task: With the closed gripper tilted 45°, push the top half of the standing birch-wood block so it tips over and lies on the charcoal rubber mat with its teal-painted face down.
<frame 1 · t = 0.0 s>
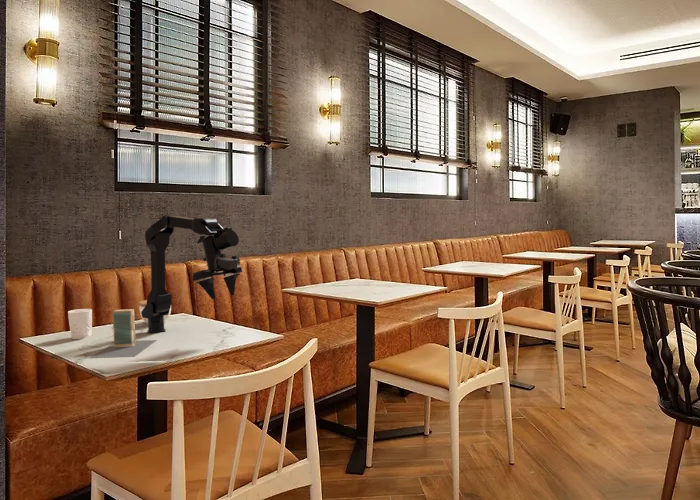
hand: (223, 297, 186), 15 cm above the table, tool pointing down, fingers open, 9 cm apart
rubber mat: (125, 350, 178), on the table
birch block: (125, 345, 182), point 1 cm above the table, touching rubber mat
lidded bowl: (156, 323, 223), on the table
white cup: (81, 338, 199), on the table
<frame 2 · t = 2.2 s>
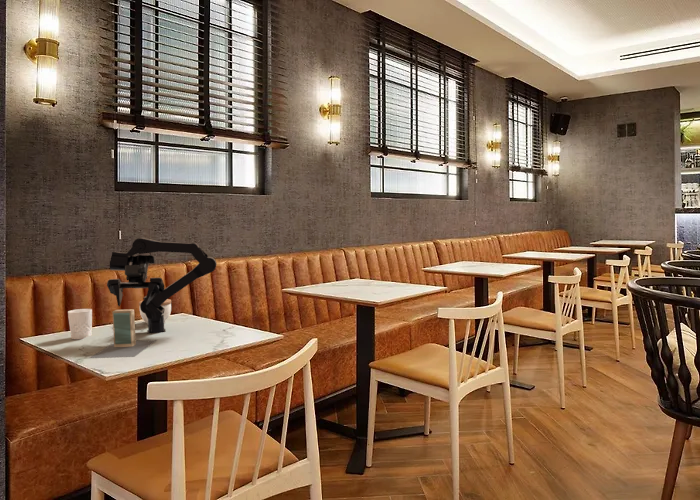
hand: (132, 305, 190), 13 cm above the table, tool tilted 45°, fingers open, 9 cm apart
nothing on the table moved.
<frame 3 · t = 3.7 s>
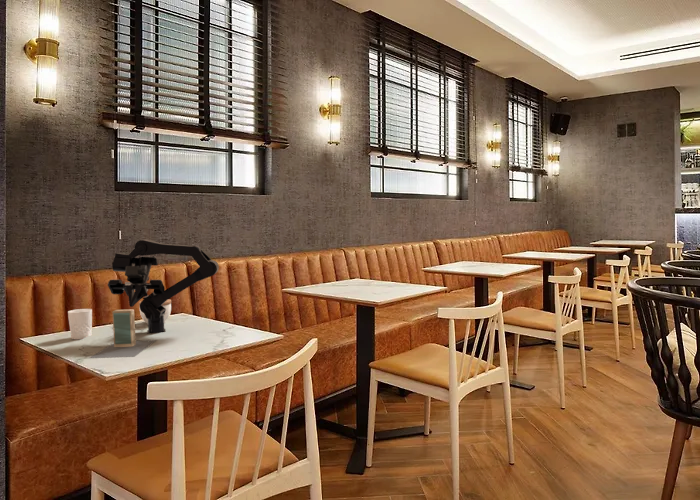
hand: (130, 306, 190), 13 cm above the table, tool tilted 45°, fingers closed
nothing on the table moved.
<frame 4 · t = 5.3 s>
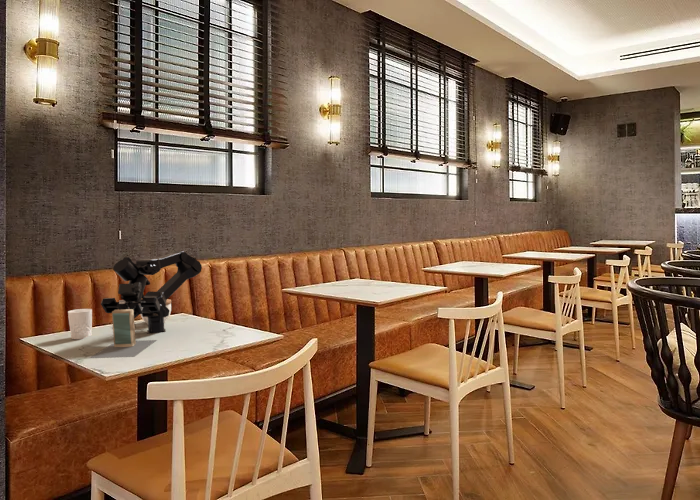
hand: (125, 325, 183), 7 cm above the table, tool tilted 45°, fingers closed, pressing on birch block
birch block: (125, 345, 182), point 1 cm above the table, touching gripper, rubber mat
everything else where it was.
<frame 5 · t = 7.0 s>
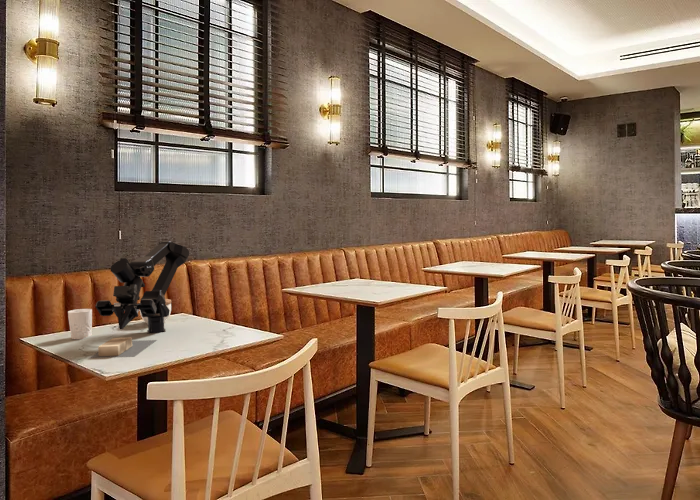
hand: (120, 328, 178), 7 cm above the table, tool tilted 45°, fingers closed
birch block: (123, 341, 180), point 2 cm above the table, tilted 90°, touching rubber mat
everything else where it was.
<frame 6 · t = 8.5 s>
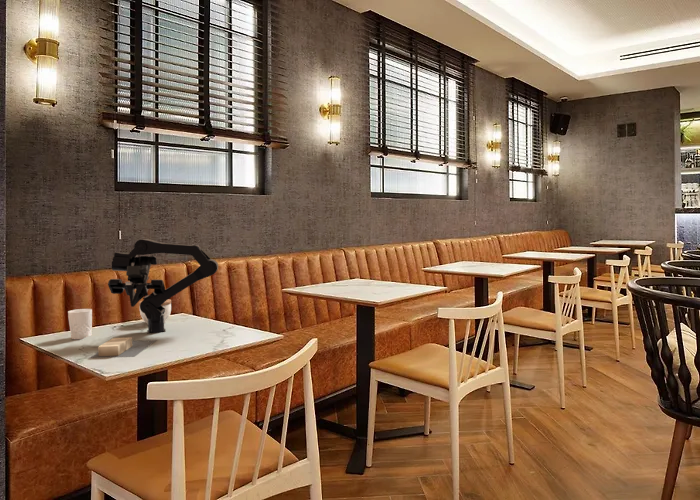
hand: (132, 306, 190), 13 cm above the table, tool tilted 45°, fingers closed
nothing on the table moved.
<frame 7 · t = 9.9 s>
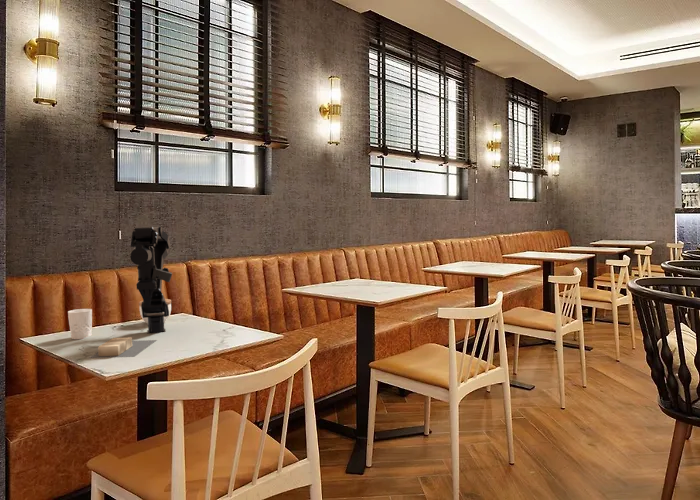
hand: (148, 306, 191), 12 cm above the table, tool pointing down, fingers closed
nothing on the table moved.
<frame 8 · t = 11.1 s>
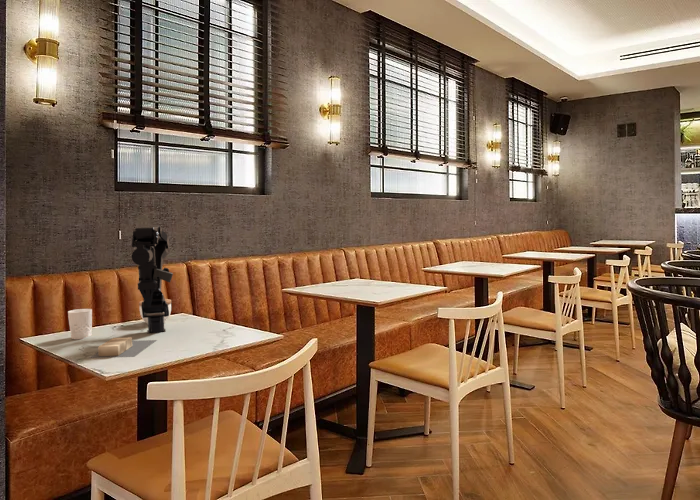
hand: (149, 306, 191), 12 cm above the table, tool pointing down, fingers closed
nothing on the table moved.
at the end: birch block tilted 90°; birch block touching rubber mat; birch block inside the target area (0.5 cm from its centre), point 2.2 cm above the table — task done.
